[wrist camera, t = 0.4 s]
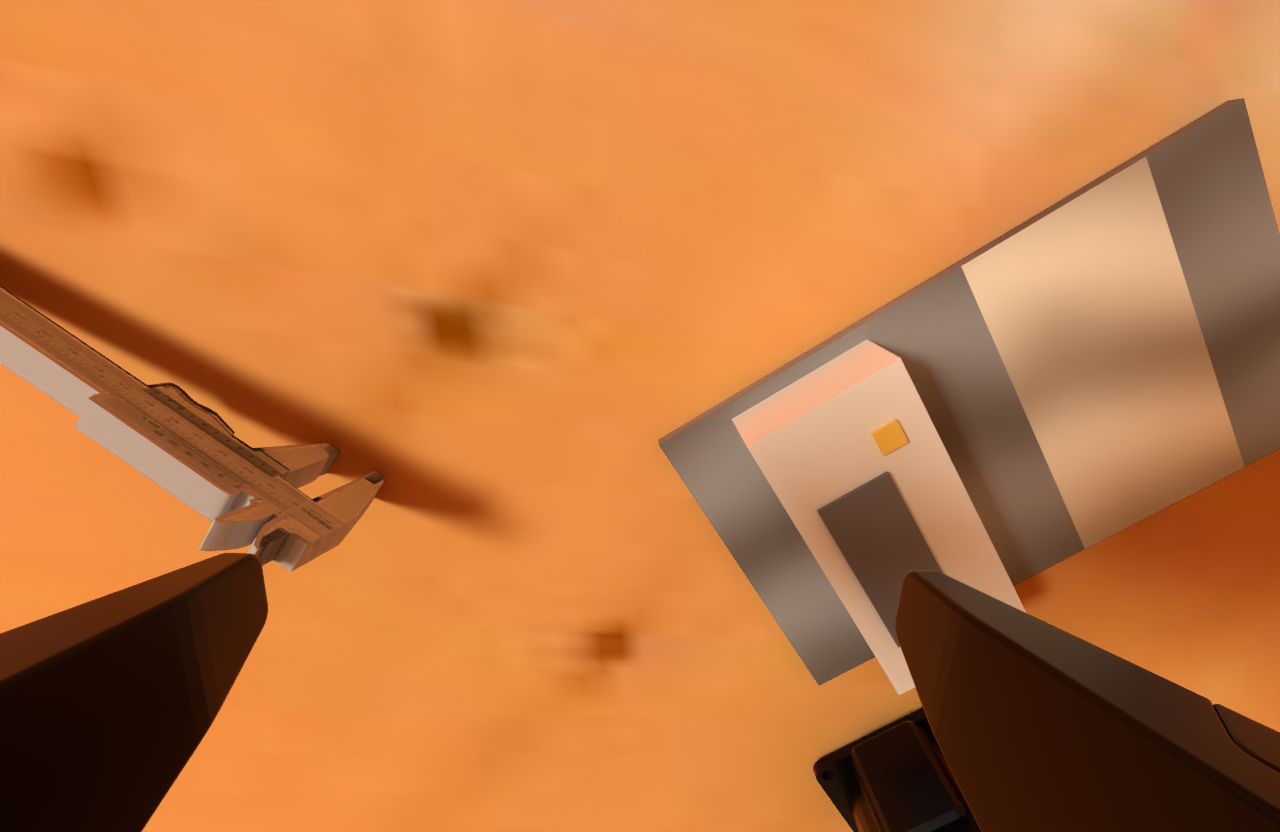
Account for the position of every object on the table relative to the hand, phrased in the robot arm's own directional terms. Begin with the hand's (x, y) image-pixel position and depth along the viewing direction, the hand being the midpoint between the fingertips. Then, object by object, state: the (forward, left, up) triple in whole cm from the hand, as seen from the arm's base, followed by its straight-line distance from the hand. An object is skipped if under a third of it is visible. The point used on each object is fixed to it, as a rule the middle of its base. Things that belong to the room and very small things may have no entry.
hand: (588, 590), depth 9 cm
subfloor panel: (-9, -10, -13) cm, 19 cm away
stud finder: (-9, -5, -12) cm, 16 cm away
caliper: (+10, +13, -13) cm, 21 cm away
